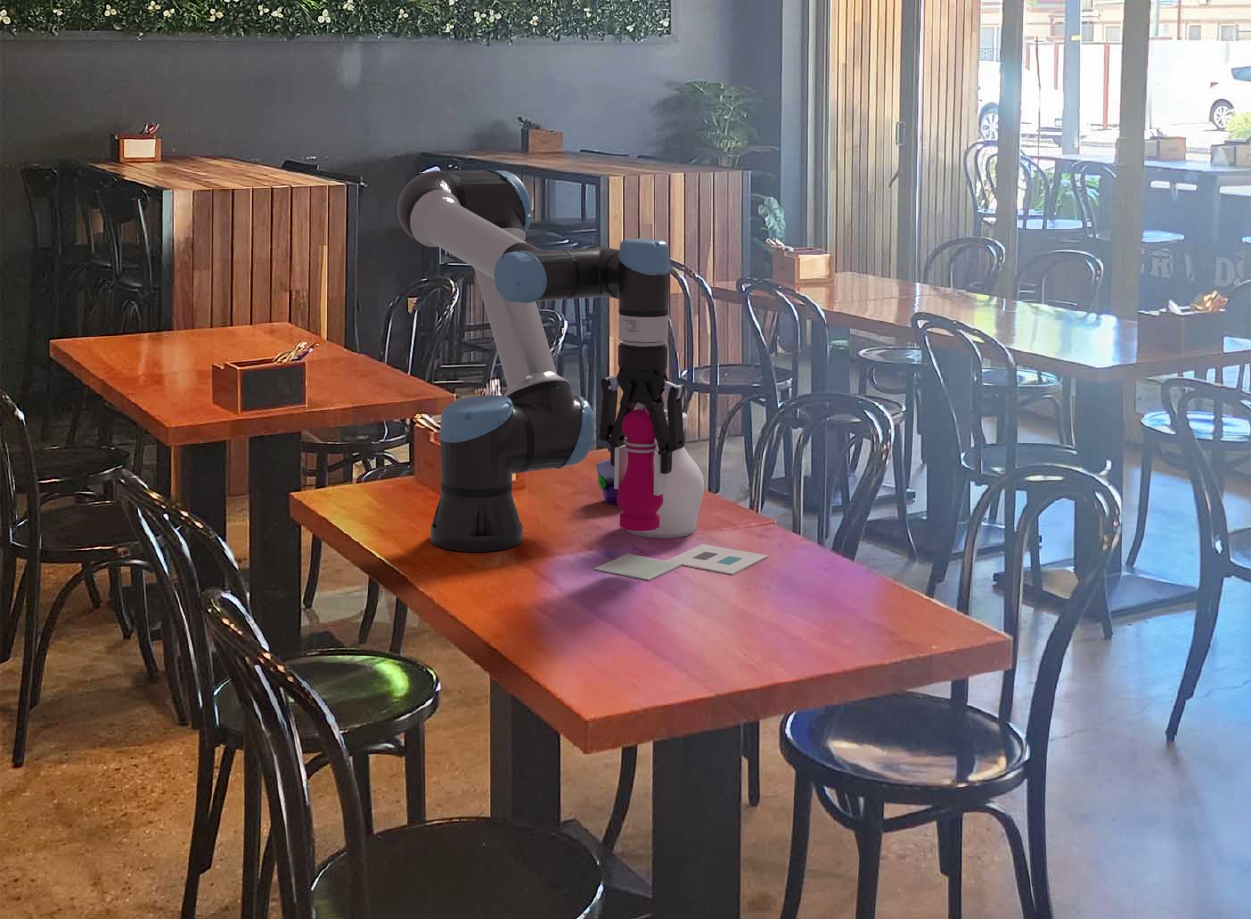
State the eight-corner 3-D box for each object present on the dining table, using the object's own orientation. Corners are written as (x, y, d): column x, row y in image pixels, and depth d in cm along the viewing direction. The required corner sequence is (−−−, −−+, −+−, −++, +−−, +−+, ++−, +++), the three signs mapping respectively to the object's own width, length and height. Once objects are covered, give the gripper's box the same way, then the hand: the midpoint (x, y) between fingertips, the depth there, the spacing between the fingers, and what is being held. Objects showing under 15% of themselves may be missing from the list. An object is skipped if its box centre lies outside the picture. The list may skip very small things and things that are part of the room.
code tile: (665, 562, 255) (665, 560, 255) (702, 545, 265) (702, 543, 265) (732, 574, 249) (732, 573, 249) (768, 557, 259) (768, 555, 259)
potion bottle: (585, 501, 292) (586, 436, 289) (616, 493, 298) (617, 430, 296) (621, 510, 286) (622, 444, 284) (652, 501, 293) (653, 436, 290)
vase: (683, 515, 284) (686, 403, 279) (715, 536, 271) (719, 419, 266) (607, 521, 279) (608, 408, 274) (636, 543, 266) (638, 424, 261)
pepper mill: (658, 533, 246) (660, 404, 242) (612, 530, 247) (613, 402, 243) (666, 522, 253) (669, 396, 249) (621, 519, 254) (623, 394, 250)
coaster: (594, 569, 250) (594, 568, 250) (628, 555, 258) (628, 553, 258) (649, 580, 245) (649, 579, 245) (682, 565, 253) (682, 563, 253)
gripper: (575, 339, 246) (574, 486, 251) (686, 351, 236) (682, 504, 241) (602, 333, 252) (600, 477, 257) (711, 345, 242) (707, 494, 247)
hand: (640, 490), depth 249 cm, fingers closed on pepper mill, 6 cm apart
